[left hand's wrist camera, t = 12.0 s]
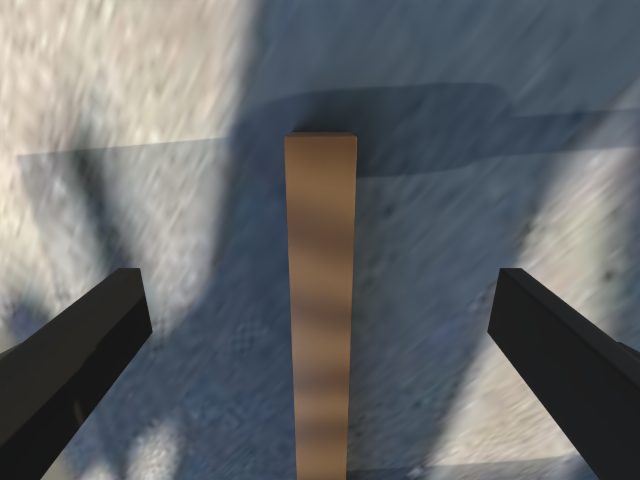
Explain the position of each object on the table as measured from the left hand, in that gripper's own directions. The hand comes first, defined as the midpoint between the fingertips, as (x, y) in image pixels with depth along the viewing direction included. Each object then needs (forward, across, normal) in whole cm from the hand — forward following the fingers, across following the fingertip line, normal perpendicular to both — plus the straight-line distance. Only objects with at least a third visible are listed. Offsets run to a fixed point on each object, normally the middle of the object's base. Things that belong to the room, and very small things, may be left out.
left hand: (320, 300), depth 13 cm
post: (+22, 0, -33) cm, 40 cm away
